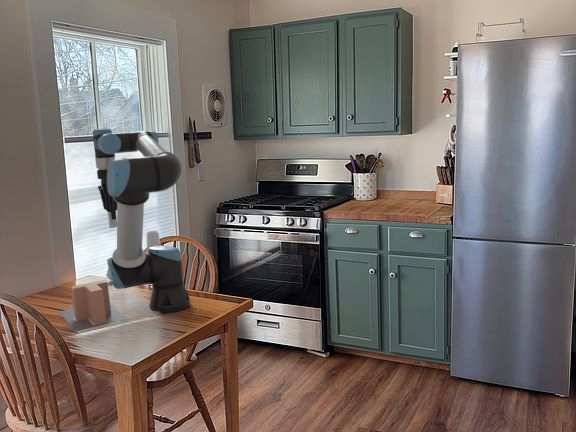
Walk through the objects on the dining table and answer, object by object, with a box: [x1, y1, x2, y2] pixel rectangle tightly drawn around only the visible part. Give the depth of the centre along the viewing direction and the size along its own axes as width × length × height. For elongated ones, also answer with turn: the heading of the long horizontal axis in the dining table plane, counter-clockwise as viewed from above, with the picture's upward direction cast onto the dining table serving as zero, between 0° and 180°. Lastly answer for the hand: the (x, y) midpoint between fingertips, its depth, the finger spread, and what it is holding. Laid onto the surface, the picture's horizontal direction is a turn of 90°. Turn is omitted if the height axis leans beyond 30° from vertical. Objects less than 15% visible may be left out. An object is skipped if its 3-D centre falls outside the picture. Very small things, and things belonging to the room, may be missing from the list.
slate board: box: [58, 304, 128, 335], centre depth 212 cm, size 28×18×1 cm, turn 32°
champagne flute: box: [146, 230, 162, 289], centre depth 249 cm, size 7×7×24 cm
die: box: [105, 267, 112, 282], centre depth 263 cm, size 8×9×10 cm
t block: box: [70, 279, 111, 325], centre depth 206 cm, size 13×12×12 cm
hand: (113, 227), depth 231 cm, fingers closed
